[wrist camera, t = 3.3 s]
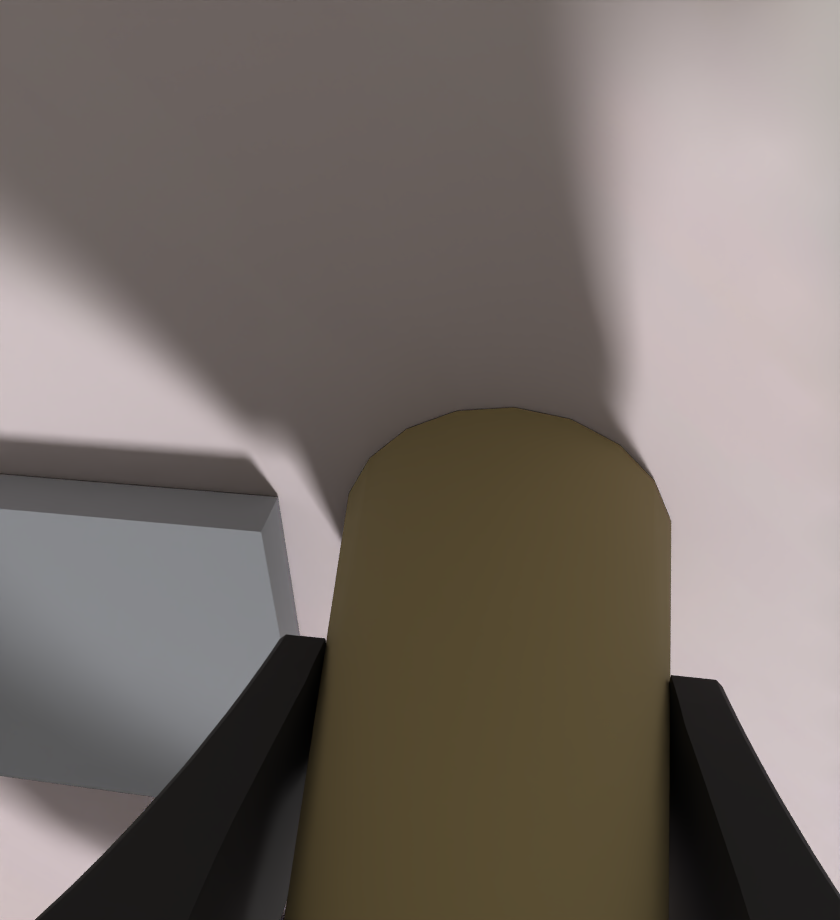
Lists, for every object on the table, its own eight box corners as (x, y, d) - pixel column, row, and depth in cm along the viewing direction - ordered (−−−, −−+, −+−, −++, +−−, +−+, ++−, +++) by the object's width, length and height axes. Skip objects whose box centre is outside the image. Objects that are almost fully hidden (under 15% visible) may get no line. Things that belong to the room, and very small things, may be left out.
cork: (287, 552, 15) (-116, 1492, 6) (475, 337, 11) (209, 1729, 3) (522, 694, 16) (486, 1620, 7) (747, 540, 13) (1179, 1871, 4)
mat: (322, 781, 19) (312, 818, 19) (-10, 738, 21) (-33, 771, 20) (277, 497, 14) (261, 531, 13) (-173, 460, 15) (-214, 489, 14)
